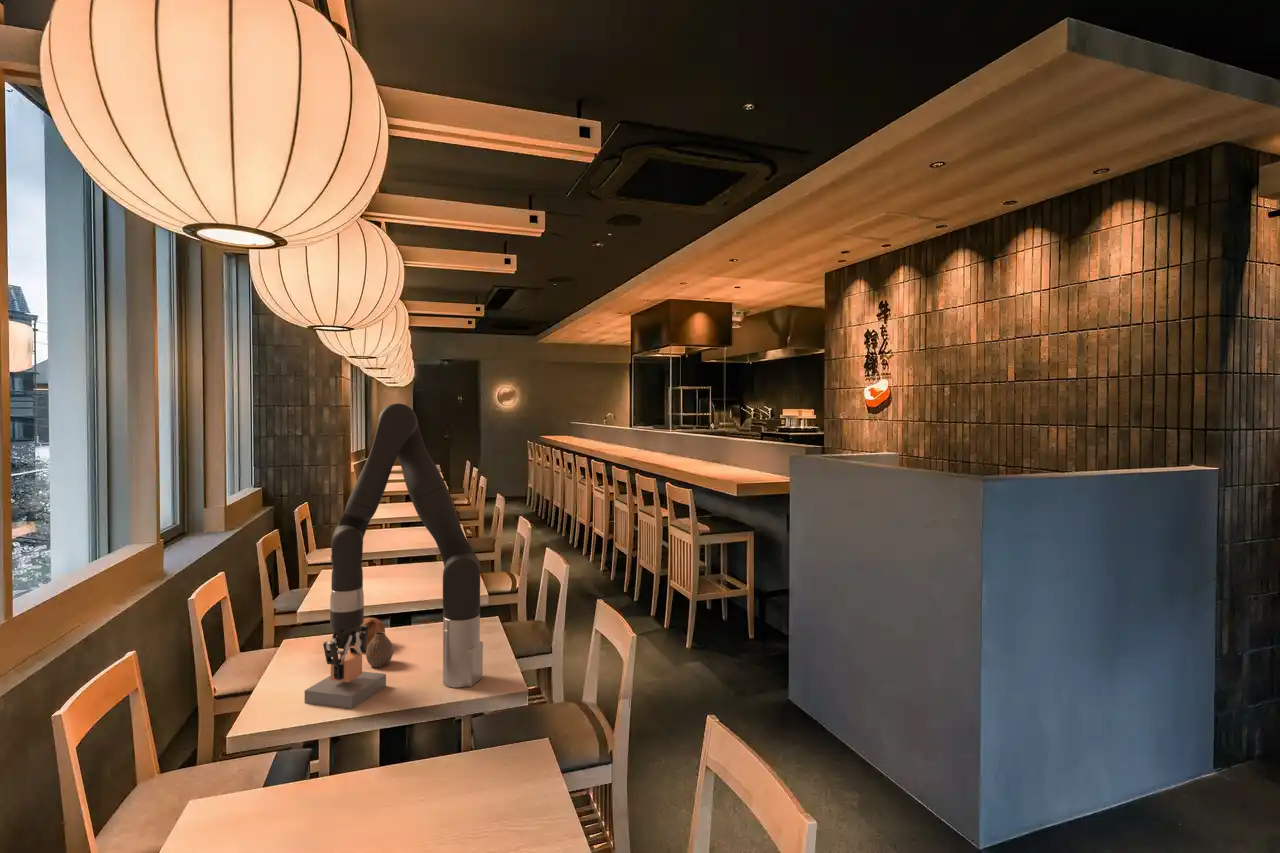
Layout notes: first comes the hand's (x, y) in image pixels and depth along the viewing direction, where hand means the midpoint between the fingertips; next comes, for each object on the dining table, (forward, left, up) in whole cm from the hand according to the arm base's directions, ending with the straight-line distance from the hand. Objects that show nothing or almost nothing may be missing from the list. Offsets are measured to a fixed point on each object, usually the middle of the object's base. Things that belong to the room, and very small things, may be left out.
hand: (346, 674), depth 153 cm
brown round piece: (+15, -28, -5) cm, 32 cm away
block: (0, 0, -1) cm, 1 cm away
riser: (0, 0, -5) cm, 5 cm away
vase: (+4, -18, -5) cm, 19 cm away
